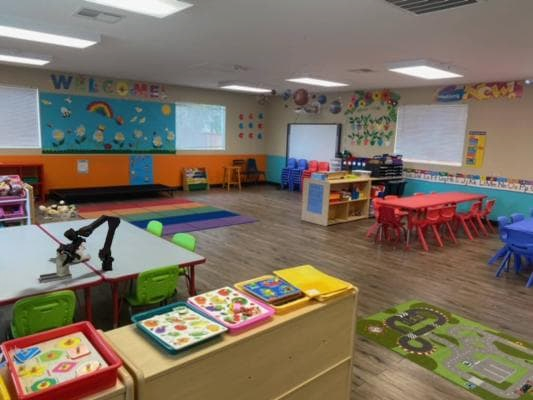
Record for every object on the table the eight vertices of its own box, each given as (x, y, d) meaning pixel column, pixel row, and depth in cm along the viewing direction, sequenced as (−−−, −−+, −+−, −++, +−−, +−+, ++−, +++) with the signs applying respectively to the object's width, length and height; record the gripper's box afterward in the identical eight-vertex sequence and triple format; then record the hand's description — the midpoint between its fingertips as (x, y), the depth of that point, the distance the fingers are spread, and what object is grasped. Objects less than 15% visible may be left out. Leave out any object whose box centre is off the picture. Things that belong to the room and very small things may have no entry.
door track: (69, 273, 275) (69, 269, 274) (72, 277, 267) (71, 274, 266) (39, 277, 264) (39, 274, 264) (41, 282, 256) (41, 279, 256)
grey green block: (65, 272, 258) (64, 254, 255) (69, 273, 256) (68, 255, 253) (56, 275, 252) (55, 256, 250) (60, 276, 251) (59, 257, 248)
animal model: (73, 234, 310) (54, 240, 297) (93, 252, 301) (74, 258, 287) (71, 247, 316) (52, 253, 302) (91, 265, 306) (72, 272, 293)
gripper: (58, 235, 258) (42, 256, 250) (76, 240, 249) (60, 262, 241) (69, 244, 266) (55, 264, 258) (87, 249, 257) (73, 270, 250)
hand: (60, 265), depth 252 cm, fingers closed on grey green block, 4 cm apart
